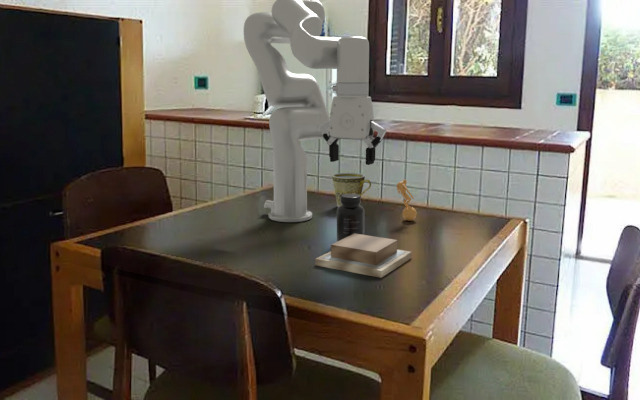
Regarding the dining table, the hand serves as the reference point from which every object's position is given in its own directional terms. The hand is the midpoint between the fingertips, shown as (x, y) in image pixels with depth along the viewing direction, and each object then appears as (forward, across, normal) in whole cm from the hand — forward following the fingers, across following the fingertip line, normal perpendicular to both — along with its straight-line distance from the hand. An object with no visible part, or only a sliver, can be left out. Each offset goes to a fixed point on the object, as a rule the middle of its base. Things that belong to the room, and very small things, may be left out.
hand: (351, 162), depth 152 cm
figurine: (+20, +3, +28) cm, 35 cm away
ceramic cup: (+20, -18, +35) cm, 44 cm away
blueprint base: (+20, +10, -12) cm, 25 cm away
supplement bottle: (+20, 0, 0) cm, 20 cm away
